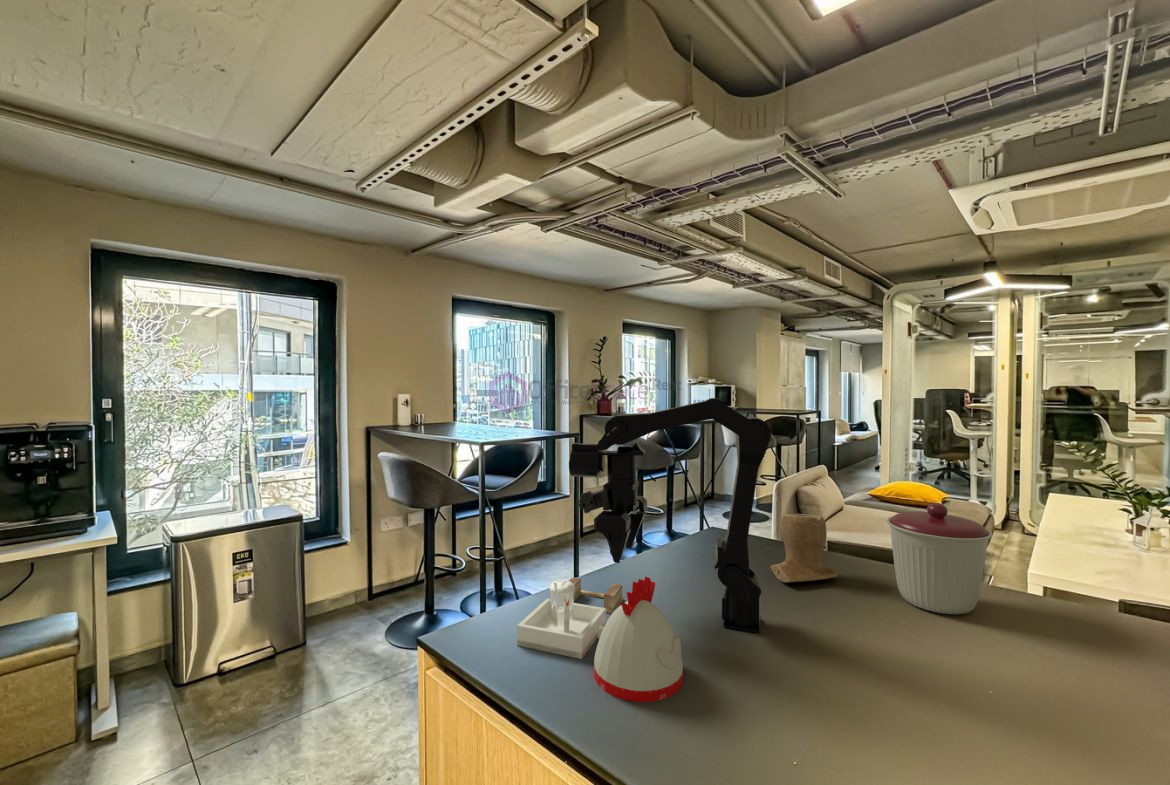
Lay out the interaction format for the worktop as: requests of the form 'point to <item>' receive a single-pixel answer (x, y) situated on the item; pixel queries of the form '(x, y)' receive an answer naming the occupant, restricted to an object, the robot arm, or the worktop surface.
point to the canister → (938, 559)
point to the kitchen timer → (638, 650)
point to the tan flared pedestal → (803, 549)
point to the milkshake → (562, 605)
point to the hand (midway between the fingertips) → (623, 555)
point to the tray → (575, 644)
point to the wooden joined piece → (601, 595)
